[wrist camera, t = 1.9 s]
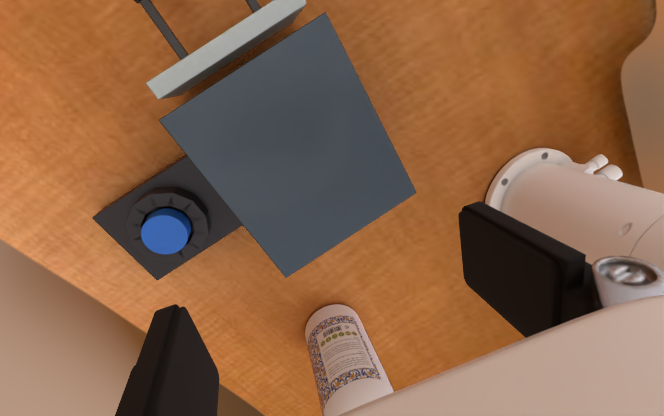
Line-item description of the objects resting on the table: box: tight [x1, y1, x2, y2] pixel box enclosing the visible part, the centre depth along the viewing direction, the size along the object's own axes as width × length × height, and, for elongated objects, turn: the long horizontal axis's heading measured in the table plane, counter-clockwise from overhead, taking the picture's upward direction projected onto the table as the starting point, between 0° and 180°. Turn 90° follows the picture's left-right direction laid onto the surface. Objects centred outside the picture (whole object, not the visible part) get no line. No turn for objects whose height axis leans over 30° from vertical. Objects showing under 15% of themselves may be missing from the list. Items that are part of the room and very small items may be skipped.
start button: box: [141, 208, 191, 254], centre depth 29 cm, size 4×4×2 cm
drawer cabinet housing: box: [159, 12, 416, 278], centre depth 29 cm, size 15×13×10 cm
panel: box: [93, 155, 243, 280], centre depth 31 cm, size 10×8×4 cm
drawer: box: [134, 0, 306, 99], centre depth 27 cm, size 19×11×8 cm, turn 31°
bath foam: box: [305, 304, 394, 416], centre depth 33 cm, size 7×7×20 cm
